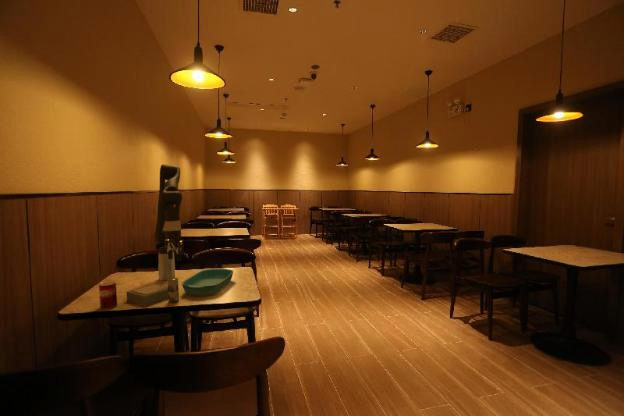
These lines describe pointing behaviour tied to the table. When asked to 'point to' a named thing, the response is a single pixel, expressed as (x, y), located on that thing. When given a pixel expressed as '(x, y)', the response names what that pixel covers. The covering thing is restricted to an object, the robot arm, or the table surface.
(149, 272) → the table surface
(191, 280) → the casserole dish
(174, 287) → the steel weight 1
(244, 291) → the table surface
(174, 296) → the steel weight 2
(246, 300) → the table surface
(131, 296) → the block
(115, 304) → the soda can
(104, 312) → the table surface
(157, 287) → the scale pan
